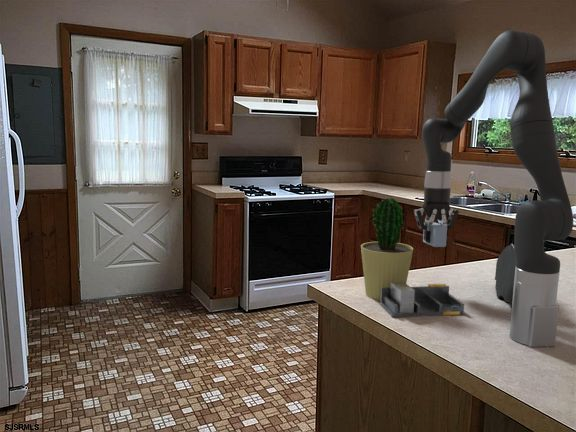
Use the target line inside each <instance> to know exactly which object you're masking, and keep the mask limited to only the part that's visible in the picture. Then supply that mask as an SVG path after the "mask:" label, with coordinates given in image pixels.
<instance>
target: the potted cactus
mask: <svg viewBox="0 0 576 432" xmlns="http://www.w3.org/2000/svg"><path fill="white" fill-rule="evenodd" d="M380 200H381V201H380V202H379V203H377V204H376V207H375V208H374V209H372V210H371V211H373V214H372V216H373V218H372V219H371V221H373V225H372V227H375V229H376V230H375V236H376V240H377V241H369V242H364V243H362V244H361V245H360V249H361V251H360V252H361V253H360V254H361V261H362V271H363V272H362V273H363V278H364V289H365V290H364V291H365V295H366V296H367V297H369V298H371V299H375V300H378V301H381V288H387V287H391V282H405V283H406V284H407V283H408V282H407V281H408V277H409V271H410V267H411V261H412V257H413V252H414V248H413V247H412V246H411V245H409V244H406V243H401V242H402V241H401V239H400V237H401V236H402V234H401V231H402V230H403V231H404V230H405V228H406V227H404V223H405V222H403V221H404V219H403V216H405V215H406V214H405V213H404V215H403V208H404V206H403V205H400V204H399V202H398V200H397V197H396V198H393V197H388V198H384V199H383V198H381V199H380ZM402 206H403V207H402Z"/></svg>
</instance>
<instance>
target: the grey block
mask: <svg viewBox="0 0 576 432" xmlns="http://www.w3.org/2000/svg"><path fill="white" fill-rule="evenodd" d="M424 224H425V222H424ZM430 231H431V235H430V243H426V242H425V240H424V231H423V235H422V242H423V243H425V244H426V245H429V246H431V247H433V248H439V247H440V248H445V247H447V239H448V238H447V237H448V236H447V235H448V229H447V227H446V226H443V225H441V224H439V222H433V224H432V226H431V229H430Z"/></svg>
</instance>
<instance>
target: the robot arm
mask: <svg viewBox="0 0 576 432" xmlns="http://www.w3.org/2000/svg"><path fill="white" fill-rule="evenodd" d="M504 70H505V71H509V72H515V74H516V76H517V80H518V86H519V95H518V100H517V103H516V105H515V107H514V109H513V110H512V111H513V112H512V115H511V118H510V122H509V129H510V138H511V143H512V144H511V145H512V149H513V151H514V154H515V156H516V158H517V159H518V160H519V162H520V163H521V165H522V166H523V167H524V168H525V170H526V171H527V172H528V173H529V175H530V176H531V177H532V178H533V180H534V183H536V186H537V190H538V194H539V199H540V200H527V201H524V202H522V203H521V204H520V205H519V206H518V208H517V210H516V213H515V220H514V239H513V240H514V242H513V243H514V244H513V246H514V254H515V258H516V268H515V279H514V289H513V301H512V302H511V315H510V326H509V338H511V340H513V341H516V342H517V343H520V344H523V345H526V346H528V347H531V348H537V347H554V346H555V345H556V344H555V343H556V335H557V327H558V319H559V318H558V316H559V315H558V314H559V306H558V305H557V299H558V290H559V289H558V288H559V280H560V270H561V260H560V259H559V258H558V257H556V256H554V255H551V254H548V253H546V252H545V241H562V240H565V239H567V238H568V237H569V236H570V235H571V234H572V231H573V228H574V214H573V209H572V205H571V201H570V198H569V195H568V191H567V187H566V184H565V181H564V178H563V174H562V172H563V171H562V168H561V164H560V159H559V153H558V149H557V148H558V146H557V142H556V141H557V140H556V133H555V128H554V127H555V126H554V122H553V117H552V111H551V106H550V99H549V91H548V84H547V66H546V51H545V46H544V42H543V40H542V38H541V37H539V36H538V35H536V34H534V33H529V32H526V31H519V30H516V29H515V30H514V29H513V30H511V29H510V30H505V31H503V32H502V33H500V34H499V35H498V36H497V37H496V39H495V40H494V41H493V42H492V44H491V45H490V47H489V48H488V49H487V51H486V53H485V54H484V56H483V57H482V59H481V60H480V62H479V63H478V65H477V67H476V69H475V70H474V71H473V73H472V75H471V76H470V78H469V79H468V81H467V82H466V83H465V84H464V86H463V88H462V89H460V91H459V92H458V93H457V94H456V95H455V97H453V99H452V100H451V101H450V102H449V103H448V104H447V106H445V109H444V116H445V118H434V117H432V118H428V119H427V120H426V121H425V123H424V124H423V126H422V132H421V136H422V141H423V145H424V149H425V150H424V151H425V155H426V166H425V168H426V169H425V170H426V171H425V175H424V183H423V184H424V192H423V193H424V194H423V205H422V207H421V208H418V209H414V210H413V213H414V217H415V220H416V224H417V227H418V228H419V229H422V230H423V232H424V240H425V242H426V243H425V244H427V243H430V235H431V231H430V229H431V226H432V224H433V223H435V221H436V220H437V221H438V222H437V223H438V224H441V225H443V226H446V227H447V230H449V229H454V228H453V227H454V224H455V223H456V220H457V217H458V215H459V213H460V211H459V210H458V209H455V208H452V206H451V205H450V201H451V187H452V174H451V172H452V171H451V169H452V154H451V153H450V152H449V151H446V150H443V148H442V144H441V143H443V144H447V143H448V144H449V143H452V142H453V141H455V140H457V138H458V137H459V136H460V134H461V133H462V130H463V129H464V127H465V126H466V123H467V121H468V120H470V119H471V118H472V116H473V115H474V114H475V113H476V112H477V111H478V110H479V109H480V108H481V107H482V105H483V104H484V102H485V99H486V97H487V92H488V91H487V90H488V87H489V85H490V83H491V82H492V80H493V79H494V78H495V77H497V75H499V74H500V73H501V72H503V71H504ZM424 214H425V218H423V215H424ZM447 214H449V215H448V218H447ZM424 223H425V224H424Z"/></svg>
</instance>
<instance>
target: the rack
mask: <svg viewBox="0 0 576 432" xmlns="http://www.w3.org/2000/svg"><path fill="white" fill-rule="evenodd" d="M379 301H380V304H379V305H380V306H381V307H382V308H383V309H384V310H385V311H386V312H387V313H388V314H389V315H390V316H391V318H404V317H405V318H407V317H408V318H409V317H434V316H437V317H438V316H458V315H459V316H461V315H465V314H464V313H465V312H464V310H465V303H463V302H462V301H461V300H460V299H458V298H457V297H455V296H454V295H452V294H451V293H450V286H449V285H447V284H446V283H428V284H427V285H425V286H424V285H421V286H410V285H409V284H408V283H407V282H406V283H405V282H391V287H387V288H381V300H379Z"/></svg>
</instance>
